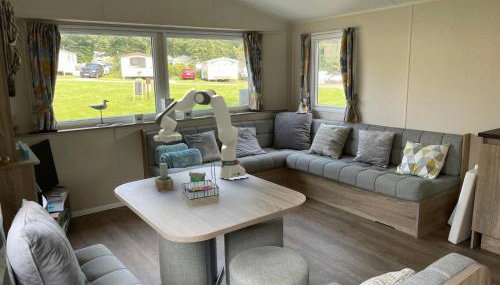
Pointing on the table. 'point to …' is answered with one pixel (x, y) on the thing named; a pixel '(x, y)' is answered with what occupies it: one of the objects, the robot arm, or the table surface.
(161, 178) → the slate grey canister
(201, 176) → the food container
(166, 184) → the walnut holder
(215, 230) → the table surface
